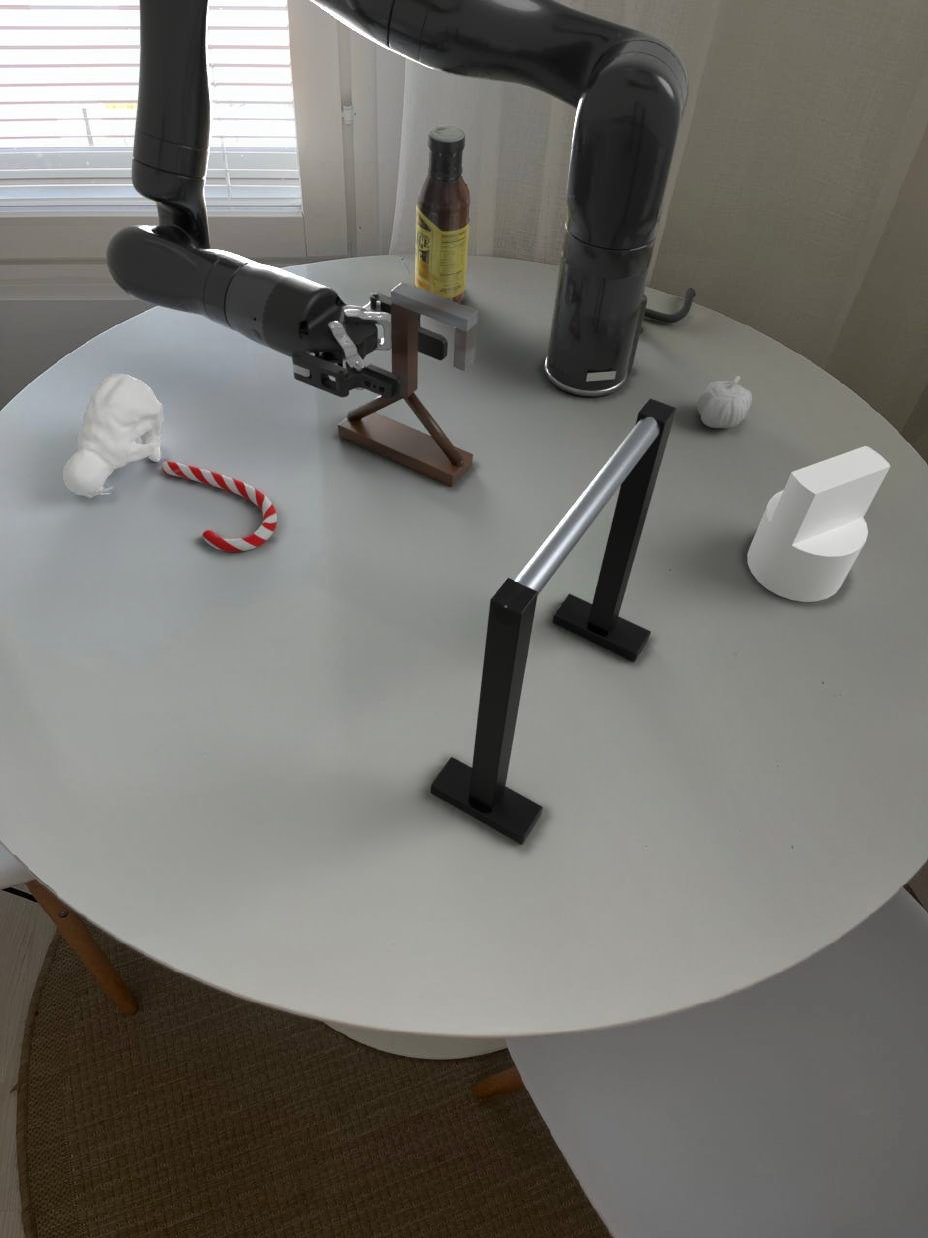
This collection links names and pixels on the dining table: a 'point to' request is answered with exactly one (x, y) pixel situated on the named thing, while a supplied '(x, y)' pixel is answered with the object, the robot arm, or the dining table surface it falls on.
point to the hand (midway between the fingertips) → (424, 369)
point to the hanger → (392, 436)
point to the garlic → (724, 404)
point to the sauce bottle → (443, 217)
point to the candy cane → (237, 488)
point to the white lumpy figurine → (114, 433)
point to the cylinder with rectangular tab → (816, 526)
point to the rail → (556, 622)
